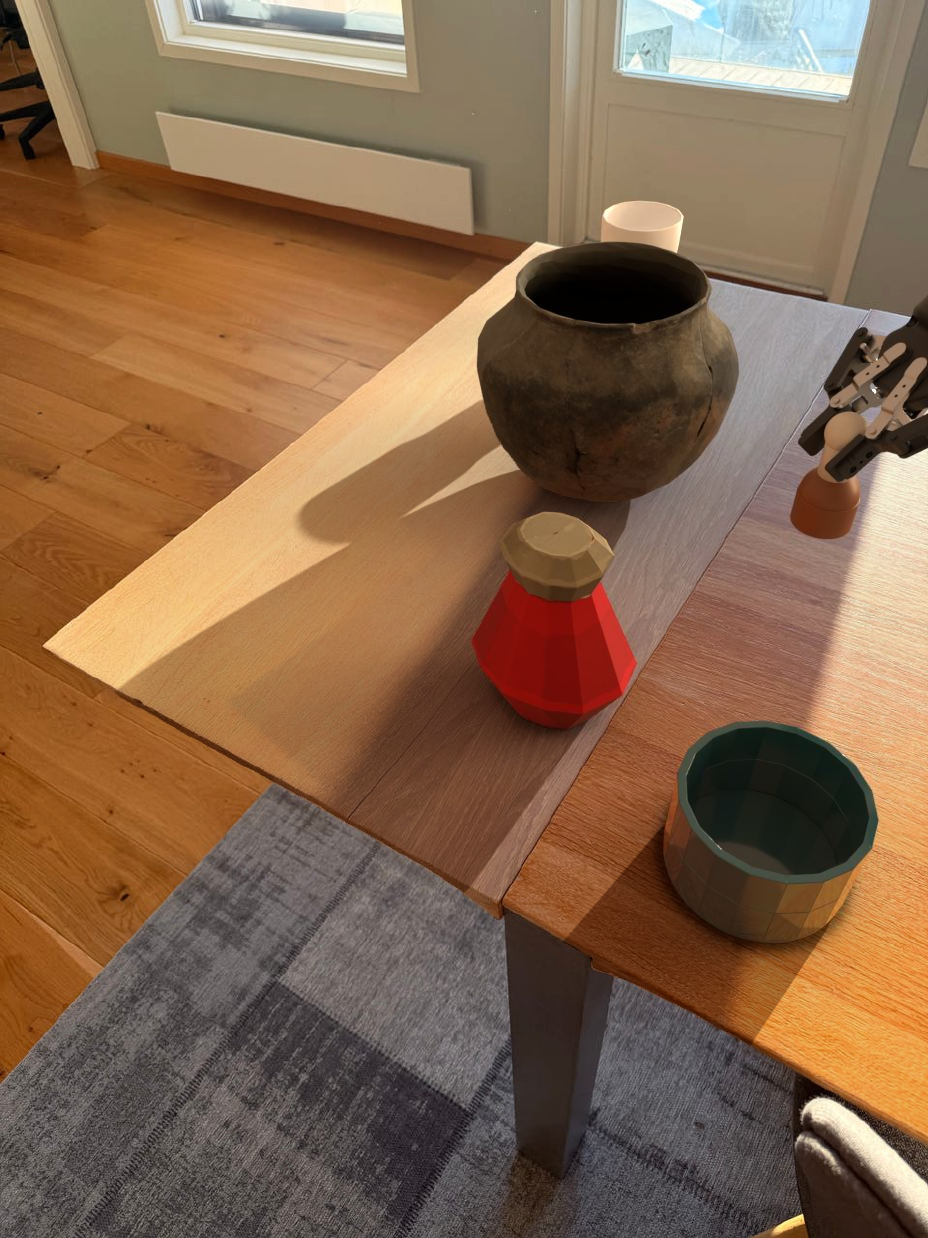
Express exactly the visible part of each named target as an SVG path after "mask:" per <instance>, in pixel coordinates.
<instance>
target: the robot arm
mask: <svg viewBox="0 0 928 1238" xmlns="http://www.w3.org/2000/svg"><path fill="white" fill-rule="evenodd" d="M871 385H873V386H874V387H875V388H872V386H871ZM822 387H823V390H824V391H825V392H826V394H827V396H828V400H829V403H828V405H827V407H826V408H825V409H824V410H823V411H822V412H821V413H820V414H819V415H818V416H817V417H816V418H815V419H814V420H813V421H812V422H810V423H809V425H807V426H806V427H805V428H804V429H803V430H802V432H801V433H800V437H799V438H798V440H797V444H798V446H799V447H800V448H801V449H802V450H804V451H805V452H806V453H807V454H808V455H809V456H810V457H815V456H816V455H817V454H819V453H820V452H821V451H823V449H824V445H825V438H824V431H825V428H826V425H827V423H828V422H829V421H830V420H831V419H832V418H833V417H834V416H835V415H837V414H839V413H842V412H855V413H858V414H860V415H861V414H863V413H865V412H866V411H868V410H870V409H871V408H878V407H880V412H879V413H878V414H877V416H876V417H875V418H874V419H873V420H872V422H871V423H870V424H869V427H868V428H867V429H866V431H865V436H864V437H863V436H862V435H861V434H860V433H859V434H858V435H857V436H856V437H855V438H854V439H853V440H852V441H851V442H850V443H849V444H847V445H846V446H845V447H844V448H843V449H842V450H841V451H840V452H839V453H838V454H837V455H835V456H834V457H833V458H832V459H831V460H830V461H829V462H828V463H827V464H826V465H825V470H826V471H827V472H828V473H829V474H830V475H831V476H832V477H833V478H834V479H835V480H836V481H837V482H842V481H843V480H845V479H846V480H848V479H850V478H852V477H854V476H856V475H857V474H858V473H860V472H861V471H862V470H863V469H864V468H865V467H866V466H867V465H868V464H870V462H872V461H873V460H874V459H875V458H876V457H877V456H878V455H880V454H883V453H890V454H894V455H897V457H898V458H899V459H902V460H905V459H909V458H911V457H913V456H914V455H917V454H919V453H921V452H923V451H925V450H927V449H928V412H927V411H928V294H927V295H925V296H924V297H923V298H922V300H920V301H919V302H918V303H917V304H916V305H915V307H913V310H912V313H911V316H910V318H909V320H908V321H907V322H906V323H905V324H904V325H903V326H901V327H898V328H897V329H894V330H892V331H891V332H890V333H888V334H887V335H881V334H874V333H873V334H872V333H871V331H870V330H869V328H867V327H866V326H862V327H861V326H860V327H858V328H857V329H856V330H855V331H854V332H853V334H852V336H851V338H850V339H849V341H848V342H847V344H846V346H845V348H844V349H843V351H842V353H841V354H840V356H839V358H838V360H837V361H836V363H835V365H834V366H833V367H832V370H831V372H830V373H829V375H828V377H827V378H826V380H825V381H824V383H823V386H822Z"/></svg>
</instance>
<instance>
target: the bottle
mask: <svg viewBox="0 0 928 1238" xmlns="http://www.w3.org/2000/svg"><path fill="white" fill-rule="evenodd" d="M498 545H499V548H500V550H501V553H502V555H503V558H504V561H505V562H506V564H507V566H508V568H509V571H508V572H507V574H506V576H505V577H504V579H503V581H502V583H501V585H500V587H499V589H498V591H497V593H496V594H495V596H494V597H493V600H492V602H491V604H490V605H489V607H488V609H487V611H486V612H485V614H484V616H483V618H482V620H481V622H480V623H479V626H478V627H477V629H476V631H475V633H474V635H473V636H472V638H471V640H470V641H471V645H472V649H473V650H474V653H475V657H476V661H477V664H478V666H479V669H480V670H481V671H482V672H483V674H484V675H485V677H487V678H488V679H489V681H490V682H491V684H492V685H493V686H494V687H495V688H496V689H497V691H498V692H499V694H501V695H502V697H503V698H504V700H506V702H507V703H508V704H509V705H510V706H511V707H512V708H513V710H514V711H515V712H517V714H518V715H519V716H520V717H521V718H522V719H524V720H526V721H528V722H531V723H534V724H536V725H538V726H540V727H543V728H546V729H556V730H565V731H568V730H570V729H572V728H574V727H576V726H578V725H581V724H583V723H584V722H588V721H589V720H591V719H592V718H594V717H595V716H597V714H599V713H601V711H603V710H605V709H606V708H607V707H609V706H610V705H612V704H613V703H614V702H615V701H616V700H617V701H618V699H620V698H621V697H622V696H624V693H625V691H626V689H627V687H628V684H629V683H630V680H631V678H632V676H633V674H634V672H635V669H636V667H637V665H638V662H637V659H636V658H635V655H634V653H633V651H632V648H631V646H630V644H629V642H628V639H627V636H626V635H625V633H624V630H623V628H622V626H621V624H620V622H619V619H618V617H617V614H616V613H615V610H614V608H613V606H612V604H611V602H610V599H609V597H608V595H607V593H606V589H605V588H604V586H603V584H602V580H603V578H604V577H605V575H606V573H607V571H608V570H609V568H610V566H611V564H612V563H613V560H614V559H615V554H614V552H613V550H612V548H611V547H610V544H609V543H608V540H607V539H606V538H604V537H603V536H602V535H601V534H600V533H598V532H597V531H596V530H595V529H593V528H592V527H591V526H589V525H588V524H587V523H585V522H584V521H582V520H581V519H580V518H578V517H575V516H571V515H569V514H566V513H563V512H555V511H541V512H539V513H537V514H533V515H531V516H529V517H526V518H523V519H521V520H520V521H516V522H514V523H512V524H510V525H509V526H508V528H507V529H506V531H505V532H504V534H503V535H502V537H501V538H500V540H499V541H498Z"/></svg>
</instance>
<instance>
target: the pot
mask: <svg viewBox="0 0 928 1238" xmlns="http://www.w3.org/2000/svg"><path fill="white" fill-rule="evenodd" d="M712 291H713V286H712V283H711V281H710V278H709V277H708V276H707V274H706V273H705V272H704V270H703V269H702V268H701V267H700V265H698V264H697V263H695V262H694V261H692V260H691V259H689V258H688V257H686V256H685V255H682V254H680V253H678V252H677V253H675V252H673V251H670V250H667V249H663V248H660V247H656V246H652V245H647V244H642V243H633V242H611V241H607V242H601V241H597V242H596V241H595V242H585V243H579V244H572V245H567V246H563V247H558V248H556V249H553V250H550V251H546V252H544V253H540V254H539V255H537V256H535V257H533V258H531V259H530V260H529V261H528V262H527V263H526V264H524V266H523V267H522V268H521V269H520V270H519V271H518V273H517V275H516V277H515V292H514V295H513V297H512V298H511V299H510V300H509V301H508V302H507V303H506V304H505V305H504V306H502V307H501V308H500V309H499V310H497V311H496V312H494V314H493V315H492V316H490V317H489V318H488V319H487V320H486V321H485V323H484V325H483V327H482V329H481V331H480V333H479V336H478V337H477V348H476V349H477V353H476V373H477V377H478V381H479V386H480V391H481V396H482V401H483V405H484V409H485V412H486V415H487V418H488V419H489V422H490V424H491V426H492V430H493V431H494V435H495V437H496V439H497V440H498V442H499V444H500V446H501V447H502V449H503V450H504V451H505V452H506V453H507V454H508V455H509V457H510V458H511V459H512V461H513V462H514V463H515V465H516V467H517V468H518V469H519V470H520V471H521V473H523V474H524V475H525V476H526V477H527V478H528V479H529V480H530V481H531V482H533V483H535V484H536V485H538V486H540V487H542V488H543V489H545V490H547V491H550V492H552V493H555V494H556V495H559V496H563V497H568V498H572V499H573V498H574V499H577V500H578V499H579V500H582V501H583V500H584V501H589V502H596V503H615V502H616V503H617V502H624V501H629V500H636V499H638V498H640V497H642V496H645V495H647V494H650V493H651V492H653V491H655V490H657V489H659V488H662V487H665V486H667V485H669V484H670V483H672V482H673V481H675V480H676V479H677V478H678V477H679V476H681V475H682V474H684V473H685V472H686V471H687V470H688V469H689V468H690V467H691V466H692V465H694V463H695V462H696V461H697V460H698V459H699V458H700V457H701V456H702V454H703V453H704V452H705V451H706V450H707V448H708V447H709V445H710V444H711V443H712V441H713V440H714V439H715V437H716V436H717V434H718V433H719V431H720V428H721V426H722V424H723V422H724V420H725V417H726V416H727V414H728V411H729V409H730V406H731V404H732V401H733V398H734V396H735V394H736V391H737V390H736V389H737V385H738V380H739V376H740V366H739V365H740V362H739V356H738V351H737V348H736V344H735V341H734V337H733V334H732V333H731V331H730V328H729V326H728V325H727V324H726V323H725V322H724V321H723V320H722V319H721V318H719V316H718V315H716V314H715V312H714V311H713V310H711V309H710V308H709V301H710V297H711V294H712Z"/></svg>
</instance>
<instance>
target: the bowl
mask: <svg viewBox="0 0 928 1238" xmlns="http://www.w3.org/2000/svg"><path fill="white" fill-rule="evenodd" d="M675 777H676V778H675V781H674V788H673V790H672V795H671V799H670V804H669V808H668V813H667V818H666V822H665V826H664V831H663V843H662V844H663V845H662V847H663V860H664V865H665V869H666V872H667V875H668V877H669V879H670V881H671V885H672V886H673V887H674V889H675V891H676V892H677V894H678V896H679V897H680V898H681V899H682V900H683V902H684V903H685V904H686V905H687V907H689V908H690V909H691V910H692V911H693V912H694V914H696V915H698V916H699V917H700V918H701V919H702V920H703V921H705V922H706V923H708V924H709V925H711V926H712V927H714V928H716V929H718V930H720V931H721V932H723V933H725V934H728V935H731V936H733V937H736V938H737V939H742V940H744V941H745V940H746V941H750V942H755V943H762V944H783V943H791V942H795V941H799V940H802V939H804V938H807V937H809V936H811V935H814V934H815V933H817V932H818V931H820V930H821V929H823V928H824V927H825V926H826V925H827V924H828V923H830V922H831V920H832V919H833V918H834V917H835V915H836V913H838V911H839V910H840V909H841V908H842V906H843V905H844V903H845V901H846V899H847V897H848V895H849V894H850V891H851V890H852V887H853V885H854V884H855V882H856V880H857V879H858V877H859V875H860V872H861V871H862V869H863V867H864V865H865V864H866V861H867V860H868V857H869V855H870V853H871V852H872V851H873V848H874V845H875V840H876V836H877V832H878V829H879V824H880V818H879V813H878V809H877V804H876V799H875V795H874V792H873V789H872V788H871V786H870V785H869V783H868V782H867V780H866V779H865V777H864V776H863V774H862V772H861V771H860V769H859V767H858V766H857V765H856V764H855V763H854V762H853V761H852V760H851V759H850V758H849V757H847V756H846V755H845V754H844V753H843V752H842V751H840V750H839V749H838V748H837V747H836V746H835V745H833V744H832V743H831V742H829V741H827V740H825V739H823V738H821V737H819V736H817V735H815V734H814V733H811V732H809V731H807V730H805V729H804V728H800V727H799V726H795V725H789V724H785V723H780V722H775V721H771V720H749V721H747V720H746V721H745V720H744V721H735V722H731V723H729V724H725V725H723V726H720V727H717V728H715V729H712V730H708V731H707V732H706V733H705V734H703V735H702V736H701V737H700V738H699V739H698V740H697V741H696V742H694V743H693V744H692V745H691V746H690V747H689V748H688V749H687V750H686V752H685V755H684V757H683V759H682V762H681V763H680V765H679V768H678V771H677V773H676V776H675Z"/></svg>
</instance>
